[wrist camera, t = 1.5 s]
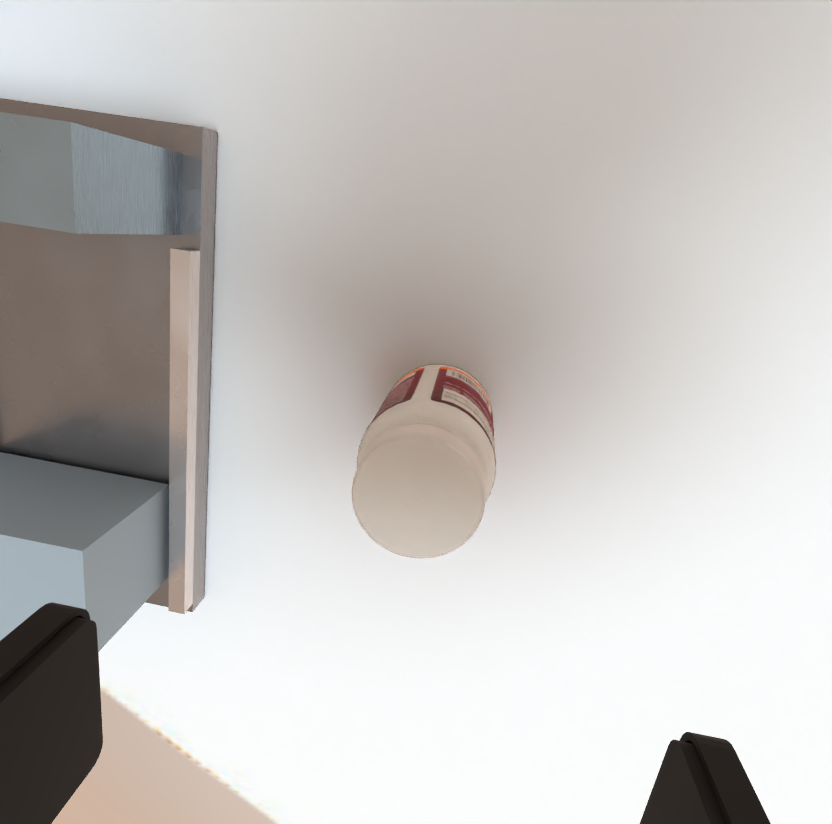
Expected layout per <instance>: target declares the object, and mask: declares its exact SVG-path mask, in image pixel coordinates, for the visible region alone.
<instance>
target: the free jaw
mask: <svg viewBox="0 0 832 824" xmlns="http://www.w3.org/2000/svg"><path fill="white" fill-rule="evenodd" d="M168 552H169V484H164V483H159V482H154V481H148V480H143V479H138V478H133V477H127V476H122V475H117V474H112V473H107V472H101V471H96V470H91V469H86V468H81V467H75V466H70V465H65V464H60V463H54V462H49V461H44V460H39V459H34V458H28V457H23V456H18V455H13V454H8V453H2V452H0V641H1V640H2V639H3V638H4V637H5V636H7V635H8V634H9V633H10V632H12V631H13V630H14V629H15V628H16V627H18V626H19V625H20V624H21V623H22V622H24V621H25V620H26V619H27V618H28V617H30V616H31V615H32V614H33V613H35V612H36V611H37V610H38V609H39V608H41V607H42V606H44V605H45V604H47V603H51V602H53V603H58V604H63V605H68V606H73V607H78V608H82V609H86V610H87V611H88V612H89V615H90V620H93V621H95V623H96V626H97V639H98V652H99V651H100V649H101V648H102V647H103V646H104V645H105V644H106V643H107V642H108V641H109V640H110V639H111V638H112V637H113V636H114V635H115V634H116V632H117V631H118V630H119V629H120V628H121V627H122V626H123V625H124V624H125V623H126V622H127V621H128V620H129V619H130V618H131V617H132V615H133V614H134V613H135V612H136V611H137V610H138V609H139V608H140V607H141V606H142V605H143V604H144V603H145V602H146V601H147V599H148V598H149V597H150V596H151V595H152V594H153V593H154V592H155V591H156V590H157V589H158V588H159V587H160V586H161V585H162V584H163V582H164V581H165V580H166V579H167V578H168Z"/></svg>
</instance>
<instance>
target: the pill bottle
mask: <svg viewBox="0 0 832 824" xmlns="http://www.w3.org/2000/svg"><path fill="white" fill-rule="evenodd" d="M495 474H496V458H495V448H494V428H493V414H492V408H491V403H490V400H489V398H488V396H487V394H486V392H485V390H484V389H483V387H482V386H481V385H480V384H479V382H478V381H477V380H476V379H475V378H473V377H472V376H471V375H470V374H468V373H467V372H465V371H463V370H461V369H458V368H455V367H452V366H448V365H427V366H422V367H420V368H417V369H414V370H413V371H411V372H409V373H407V374H406V375H404V376H403V377H402V378H401V379H400V380H399V381H398V382H397V383H396V384H395V385H394V387H393V388H392V390H391V391H390V393H389V394H388V396H387V398H386V399H385V401H384V403H383V404H382V406H381V408H380V409H379V411H378V413H377V414H376V416H375V418H374V419H373V421H372V422H371V424H370V425H369V426H368V428H367V430H366V432H365V434H364V436H363V438H362V440H361V443H360V446H359V451H358V458H357V472H356V474H355V477H354V481H353V487H352V501H353V507H354V511H355V514H356V516H357V519H358V521H359V523H360V524H361V526H362V527H363V529H364V530H365V532H366V533H367V534H368V535H369V536H370V537H371V538H372V539H373V540H374V541H375V542H376V543H378V544H379V545H381V546H382V547H384V548H385V549H387V550H389V551H391V552H394V553H396V554H399V555H402V556H406V557H412V558H431V557H436V556H440V555H444V554H447V553H449V552H451V551H453V550H455V549H457V548H458V547H460V546H461V545H463V544H464V543H465V542H466V541H467V540H468V539H469V538H470V537H471V536H472V535H473V533H474V532H475V531H476V529H477V527H478V525H479V523H480V521H481V518H482V516H483V512H484V506H485V502H486V500H487V499H488V497H489V495H490V493H491V490H492V487H493V483H494V479H495Z"/></svg>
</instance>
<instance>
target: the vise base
mask: <svg viewBox="0 0 832 824" xmlns="http://www.w3.org/2000/svg"><path fill="white" fill-rule="evenodd" d="M216 165H217V133H216V132H213V131H211V130H208V129H205V128H203V127H196V126H189V125H182V124H175V123H168V122H161V121H154V120H147V119H140V118H133V117H126V116H119V115H112V114H105V113H98V112H91V111H84V110H78V109H71V108H64V107H57V106H50V105H43V104H36V103H29V102H22V101H15V100H8V99H1V98H0V452H2V453H8V454H13V455H18V456H23V457H28V458H34V459H39V460H44V461H49V462H54V463H60V464H65V465H70V466H75V467H81V468H86V469H91V470H96V471H101V472H107V473H112V474H117V475H122V476H127V477H133V478H138V479H143V480H148V481H154V482H159V483H164V484H169V552H168V578H167V579H166V580H165V581H164V582H163V584H162V585H161V586H160V587H159V588H158V589H157V590H156V591H155V592H154V593H153V594H152V595H151V596H150V597H149V598H148V599H147V601H146V602H147V603H152V604H156V605H161V606H166V607H169V611H172V612H177V613H182V614H185V613H186V611H190V612H193V611H194V609H195V608H196V607H197V606H198V604H199V603H200V602H201V601H202V599H203V598H204V581H205V547H206V512H207V477H208V443H209V408H210V373H211V338H212V304H213V269H214V234H215V200H216Z"/></svg>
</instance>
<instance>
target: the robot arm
mask: <svg viewBox="0 0 832 824" xmlns="http://www.w3.org/2000/svg"><path fill="white" fill-rule="evenodd" d="M102 743H103V736H102V717H101V698H100V678H99V659H98V639H97V626H96V623H95V621H93V620H90V615H89V612H88V611H87V610H86V609H82V608H78V607H73V606H68V605H63V604H58V603H53V602H51V603H47V604H45V605H44V606H42V607H41V608H39V609H38V610H37V611H36V612H35V613H33V614H32V615H31V616H30V617H28V618H27V619H26V620H25V621H24V622H22V623H21V624H20V625H19V626H18V627H16V628H15V629H14V630H13V631H12V632H10V633H9V634H8V635H7V636H5V637H4V638H3V639H2V640H1V641H0V824H51V823H52V822H53V820H54V819H55V818H56V816H57V815H58V814H59V812H60V811H61V810H62V808H63V807H64V805H65V804H66V803H67V802H68V800H69V799H70V798H71V796H72V795H73V793H74V792H75V791H76V789H77V788H78V787H79V785H80V784H81V783H82V781H83V780H84V778H85V777H86V776H87V775H88V773H89V772H90V771H91V769H92V767H93V766H94V765H95V763H96V761H97V759H98V757H99V755H100V752H101V749H102ZM640 824H770V822H769V820H768V818H767V816H766V814H765V811H764V809H763V807H762V805H761V803H760V801H759V799H758V797H757V795H756V793H755V791H754V789H753V787H752V785H751V783H750V781H749V779H748V776H747V774H746V772H745V770H744V768H743V766H742V764H741V762H740V760H739V758H738V756H737V754H736V752H735V750H734V748H733V747H732V745H731V743H729V742H728V741H727V740H725V739H720V738H715V737H710V736H705V735H700V734H695V733H690V732H686V733H684V734H683V735H682V737H681V739H680V741H678V740H672V741H671V742H670V744H669V746H668V749H667V751H666V754H665V757H664V759H663V762H662V765H661V768H660V770H659V773H658V776H657V779H656V781H655V784H654V787H653V789H652V792H651V795H650V798H649V800H648V803H647V806H646V808H645V811H644V814H643V817H642V819H641V822H640Z"/></svg>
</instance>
